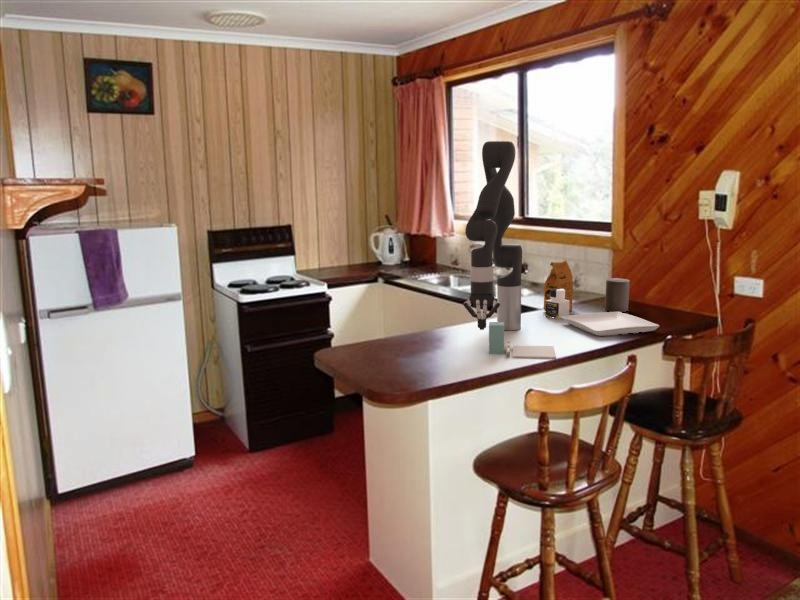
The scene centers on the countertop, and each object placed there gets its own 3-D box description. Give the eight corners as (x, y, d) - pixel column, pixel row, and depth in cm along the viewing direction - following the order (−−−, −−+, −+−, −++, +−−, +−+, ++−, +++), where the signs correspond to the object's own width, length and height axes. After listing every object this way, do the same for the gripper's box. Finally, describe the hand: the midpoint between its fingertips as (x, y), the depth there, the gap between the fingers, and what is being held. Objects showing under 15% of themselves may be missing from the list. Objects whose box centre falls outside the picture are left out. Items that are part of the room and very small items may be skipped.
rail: (507, 346, 237) (507, 341, 236) (509, 346, 236) (509, 341, 236) (506, 357, 223) (506, 351, 223) (509, 357, 223) (509, 351, 223)
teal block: (489, 350, 233) (489, 322, 231) (504, 350, 232) (504, 322, 231) (489, 353, 228) (489, 325, 227) (503, 354, 228) (504, 325, 226)
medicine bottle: (545, 316, 283) (545, 288, 281) (556, 314, 288) (556, 286, 285) (558, 319, 278) (558, 290, 275) (569, 316, 282) (570, 288, 280)
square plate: (596, 340, 244) (596, 330, 243) (559, 324, 270) (559, 315, 269) (660, 333, 251) (661, 323, 250) (618, 319, 277) (618, 310, 276)
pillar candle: (605, 312, 287) (607, 278, 285) (604, 308, 297) (605, 274, 294) (629, 313, 285) (631, 279, 282) (627, 309, 294) (629, 275, 292)
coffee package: (539, 311, 294) (540, 261, 290) (557, 307, 302) (558, 258, 298) (558, 314, 286) (559, 263, 282) (575, 310, 294) (577, 260, 290)
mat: (512, 347, 236) (512, 345, 236) (553, 347, 234) (553, 346, 234) (512, 357, 223) (512, 356, 223) (556, 358, 220) (556, 356, 220)
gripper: (501, 277, 229) (501, 327, 232) (463, 277, 231) (463, 326, 235) (501, 281, 222) (501, 332, 225) (461, 281, 224) (461, 331, 227)
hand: (481, 329), depth 230 cm, fingers closed
